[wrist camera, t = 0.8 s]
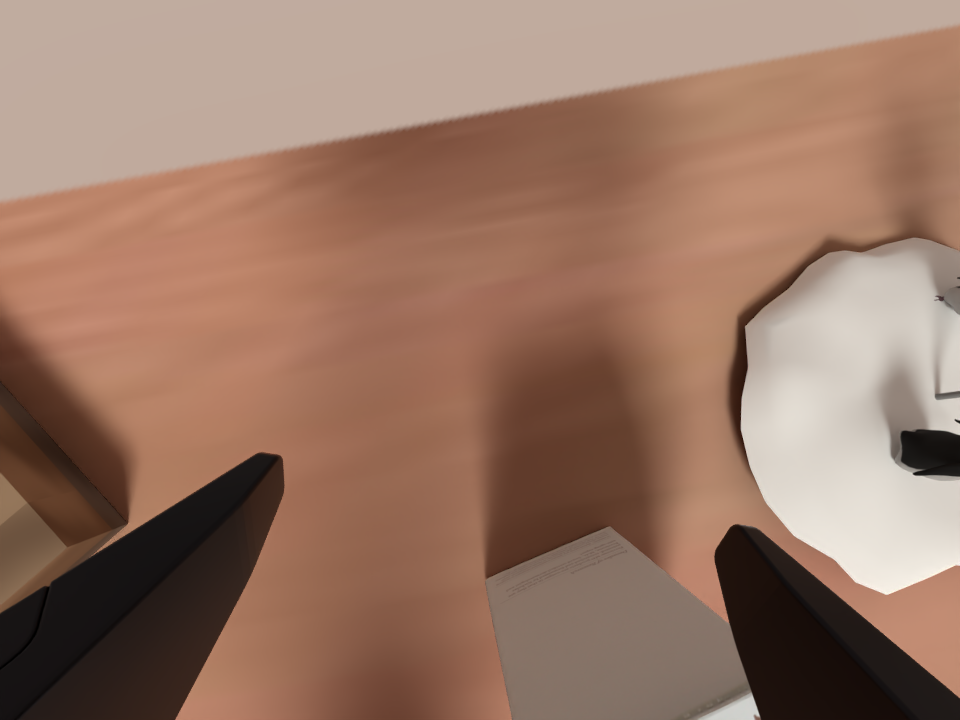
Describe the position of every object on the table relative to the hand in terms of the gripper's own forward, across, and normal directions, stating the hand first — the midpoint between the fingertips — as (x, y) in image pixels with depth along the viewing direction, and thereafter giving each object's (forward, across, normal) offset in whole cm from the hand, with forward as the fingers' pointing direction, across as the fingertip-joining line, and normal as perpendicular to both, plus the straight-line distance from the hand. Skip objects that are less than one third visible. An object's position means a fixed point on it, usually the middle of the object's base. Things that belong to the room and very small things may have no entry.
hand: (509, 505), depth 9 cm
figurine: (+16, -23, +4) cm, 28 cm away
